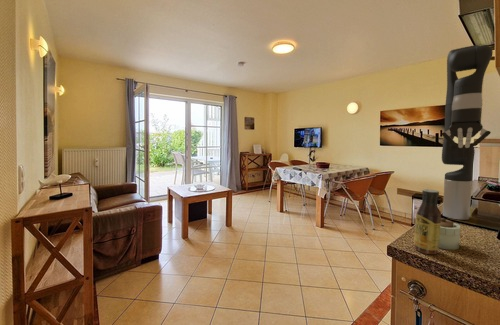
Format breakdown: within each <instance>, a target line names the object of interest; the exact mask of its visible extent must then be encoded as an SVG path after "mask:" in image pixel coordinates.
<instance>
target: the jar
mask: <svg viewBox="0 0 500 325" xmlns="http://www.w3.org/2000/svg"><path fill="white" fill-rule="evenodd" d="M460 236H461V225H460V224H457V223H455V222H453V227H452V228H450V227H441V226H440V236H439V246H438V249H443V250H449V251H454V250H455V251H456V250H458V249H459V248H460V239H461V238H460Z"/></svg>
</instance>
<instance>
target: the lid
mask: <svg viewBox="0 0 500 325" xmlns="http://www.w3.org/2000/svg"><path fill="white" fill-rule="evenodd" d="M440 222H441V225H440V226H441V227H450V228H452V227H453V223H454V221H452V220H449V219H446V218H444V217H441V220H440Z"/></svg>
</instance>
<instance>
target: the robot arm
mask: <svg viewBox="0 0 500 325" xmlns="http://www.w3.org/2000/svg"><path fill="white" fill-rule="evenodd" d="M492 57H493V48H492V47H491V46H490V45H487V44H484V45H477V44H476V45H470V46H468V45H467V46H464V47H460V48H455V49H451V50H450V51H449V52H448V54H447V58H446V94H445V95H446V97H445V107H444V132H442V133H441V136H442V137H443V141H442V149H441V162H442V163H443V164H444V165H450V166H451V165H452V166H463V167H461V168H459V169H456V170H454V171H448V172H446V173H445V174H444V184H443V186H444V187H443V199H442V200H443V203H442V216H443V217H446V218H449V219H454V220H459V221H460V220H462V221H464V220H467V221H468V220H470V214H471V200H472V199H471V197H472V185H473V166H474V160H475V147H476V146H477V145H479V144H480V143H481V142H483V141H484V140H485V139H486V138H487V137H488V136H489V135H490V134H491V130H487V129H485V128H483V127H484V126H483V124H482V111H483V110H482V109H483V84H484V77H485V73H486V70H487V68H488V66H489V64H490V61H491V60H492ZM472 70H475V71H474V72H472V73H471V74H469V75H466V76H463V77H460V78H459V77H458V76H457V72H459V73H460V72H464V71H472ZM479 132H480V133H479ZM478 133H479V137H478V138H477V139H475V141H474V142H471V141H472V138H474V137H475V136H476V135H478ZM455 137H456V138H457V142H456V141H455V140H454V138H455ZM464 138H465V144H464Z"/></svg>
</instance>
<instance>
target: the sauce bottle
mask: <svg viewBox="0 0 500 325" xmlns="http://www.w3.org/2000/svg"><path fill="white" fill-rule="evenodd" d="M439 196H440V191H438V190H435V189H429V188H427V189H423V190H422V199H421V200H422V201H421V204H420V206H419V208H418V209H417V211H416V214H415V227H414V235H413V236H414V237H413V238H414V239H413V243H414V245H413V246H414V249H415V250H416V251H418V252H420V253H422V254H425V255H436V254H438V252H439V251H438V250H439V248H438V246H439V236H440V225H441V222H440V220H441V218H442V213H441V210H440V209H439V207H438V199H439V198H438V197H439Z"/></svg>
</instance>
